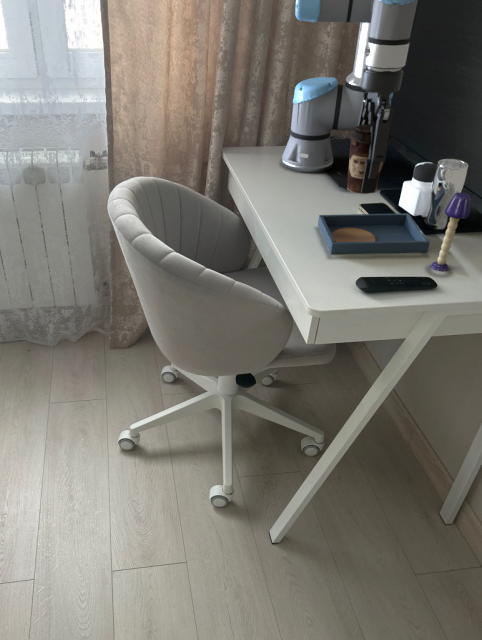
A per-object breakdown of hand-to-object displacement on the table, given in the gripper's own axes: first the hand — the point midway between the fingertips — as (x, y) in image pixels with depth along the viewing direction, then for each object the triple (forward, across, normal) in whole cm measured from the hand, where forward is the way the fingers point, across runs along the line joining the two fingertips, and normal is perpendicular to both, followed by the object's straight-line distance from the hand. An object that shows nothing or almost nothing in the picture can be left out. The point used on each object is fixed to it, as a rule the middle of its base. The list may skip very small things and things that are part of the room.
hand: (362, 184), depth 123 cm
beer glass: (+14, -8, +22) cm, 28 cm away
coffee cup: (+1, 0, 0) cm, 1 cm away
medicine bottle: (+14, -16, +20) cm, 29 cm away
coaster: (+13, 0, 0) cm, 13 cm away
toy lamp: (+14, +14, +16) cm, 25 cm away
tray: (+14, 0, +4) cm, 14 cm away
